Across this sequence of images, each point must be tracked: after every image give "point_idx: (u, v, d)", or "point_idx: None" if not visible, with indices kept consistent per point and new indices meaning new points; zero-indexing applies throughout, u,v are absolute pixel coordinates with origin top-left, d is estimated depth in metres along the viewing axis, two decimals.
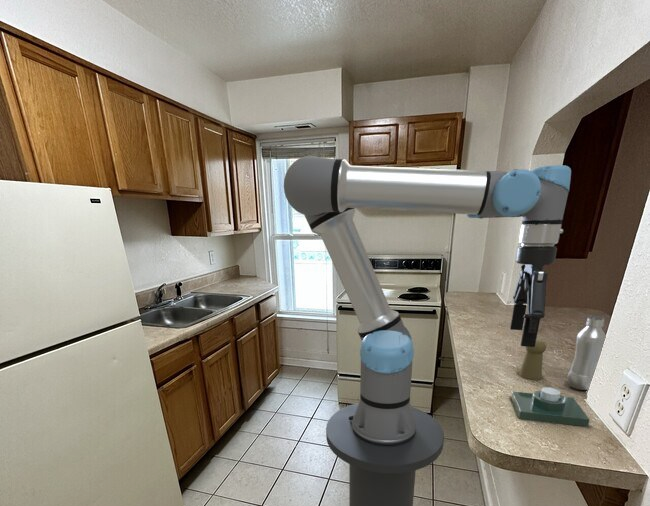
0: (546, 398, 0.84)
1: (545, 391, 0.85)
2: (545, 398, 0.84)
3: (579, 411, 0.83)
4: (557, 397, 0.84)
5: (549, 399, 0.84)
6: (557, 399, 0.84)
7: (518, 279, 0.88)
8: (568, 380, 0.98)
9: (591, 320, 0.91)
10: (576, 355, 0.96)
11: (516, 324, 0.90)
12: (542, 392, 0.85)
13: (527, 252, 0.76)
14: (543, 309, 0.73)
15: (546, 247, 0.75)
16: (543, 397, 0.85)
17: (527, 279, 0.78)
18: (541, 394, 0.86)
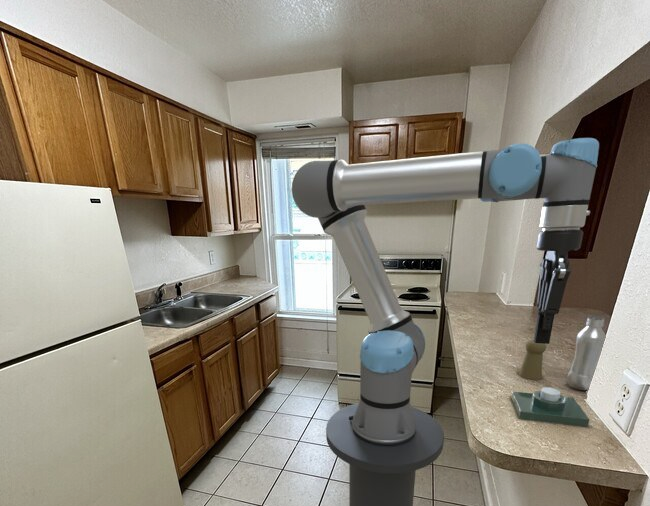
0: (546, 398, 0.84)
1: (545, 391, 0.85)
2: (545, 398, 0.84)
3: (579, 411, 0.83)
4: (557, 397, 0.84)
5: (549, 399, 0.84)
6: (557, 399, 0.84)
7: None
8: (568, 380, 0.98)
9: (591, 320, 0.91)
10: (576, 355, 0.96)
11: None
12: (542, 392, 0.85)
13: (550, 237, 0.69)
14: (558, 307, 0.71)
15: (571, 231, 0.67)
16: (543, 397, 0.85)
17: (548, 270, 0.71)
18: (541, 394, 0.86)
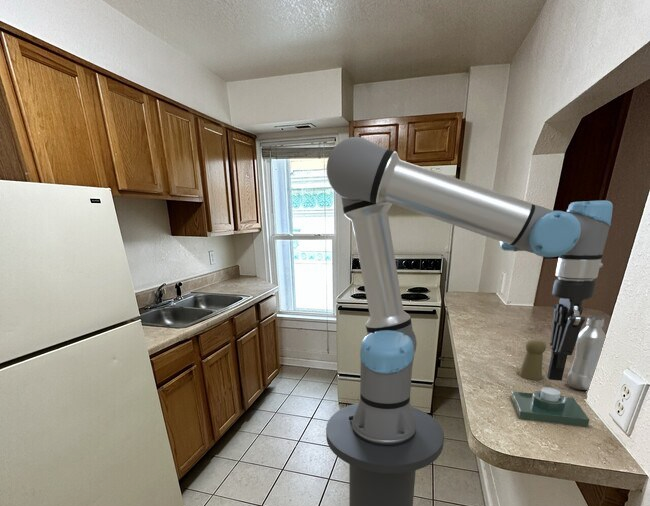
0: (546, 398, 0.84)
1: (545, 391, 0.85)
2: (545, 398, 0.84)
3: (579, 411, 0.83)
4: (557, 397, 0.84)
5: (549, 399, 0.84)
6: (557, 399, 0.84)
7: (553, 321, 0.84)
8: (568, 380, 0.98)
9: (591, 320, 0.91)
10: (576, 355, 0.96)
11: None
12: (542, 392, 0.85)
13: (565, 286, 0.74)
14: (572, 350, 0.77)
15: (586, 282, 0.73)
16: (543, 397, 0.85)
17: (563, 315, 0.77)
18: (541, 394, 0.86)
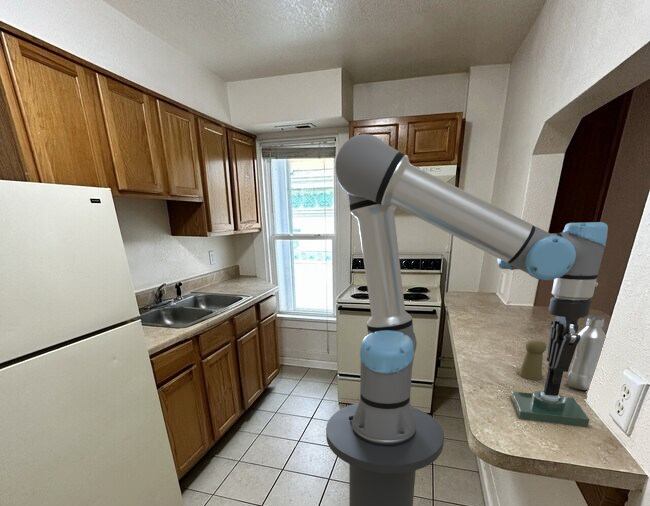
0: None
1: (544, 395, 0.85)
2: None
3: (579, 411, 0.83)
4: None
5: None
6: None
7: None
8: (568, 380, 0.98)
9: (591, 320, 0.91)
10: (576, 355, 0.96)
11: None
12: (541, 396, 0.85)
13: (561, 305, 0.76)
14: (568, 367, 0.79)
15: (581, 301, 0.74)
16: None
17: (559, 333, 0.79)
18: None
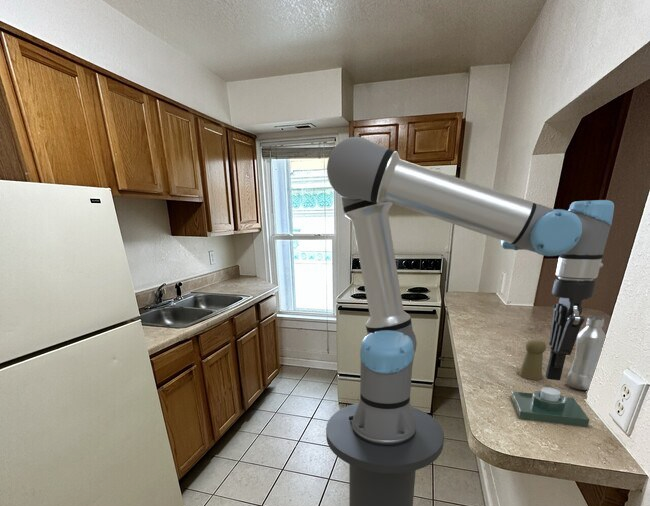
0: (546, 398, 0.84)
1: (545, 391, 0.85)
2: (545, 398, 0.84)
3: (579, 411, 0.83)
4: (557, 397, 0.84)
5: (549, 399, 0.84)
6: (557, 399, 0.84)
7: (552, 321, 0.84)
8: (568, 380, 0.98)
9: (591, 320, 0.91)
10: (576, 355, 0.96)
11: None
12: (542, 392, 0.85)
13: (565, 286, 0.74)
14: (571, 349, 0.77)
15: (586, 282, 0.73)
16: (543, 397, 0.85)
17: (562, 315, 0.77)
18: (541, 394, 0.86)
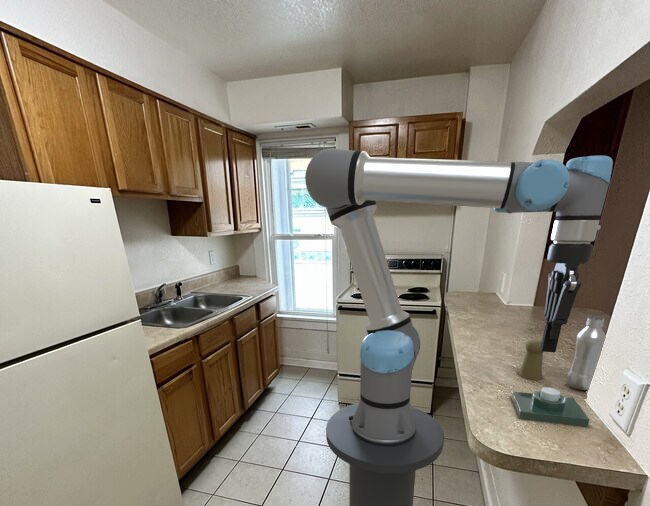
0: (546, 398, 0.84)
1: (545, 391, 0.85)
2: (545, 398, 0.84)
3: (579, 411, 0.83)
4: (557, 397, 0.84)
5: (549, 399, 0.84)
6: (557, 399, 0.84)
7: (547, 290, 0.80)
8: (568, 380, 0.98)
9: (591, 320, 0.91)
10: (576, 355, 0.96)
11: None
12: (542, 392, 0.85)
13: (561, 250, 0.71)
14: (567, 318, 0.73)
15: (582, 245, 0.69)
16: (543, 397, 0.85)
17: (558, 282, 0.73)
18: (541, 394, 0.86)
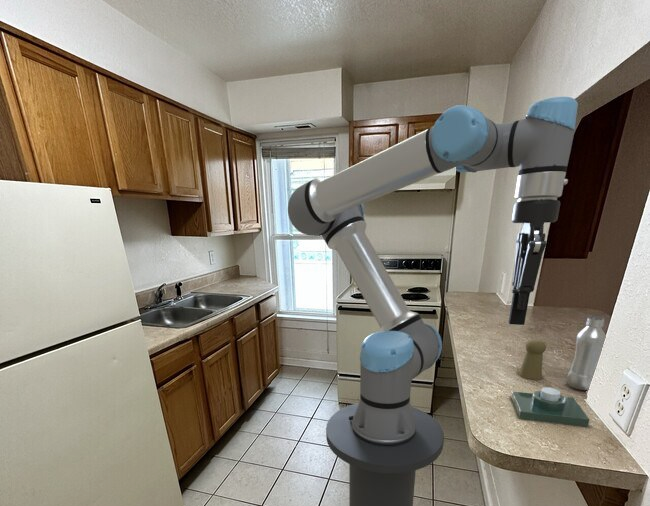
0: (546, 398, 0.84)
1: (545, 391, 0.85)
2: (545, 398, 0.84)
3: (579, 411, 0.83)
4: (557, 397, 0.84)
5: (549, 399, 0.84)
6: (557, 399, 0.84)
7: (515, 257, 0.73)
8: (568, 380, 0.98)
9: (591, 320, 0.91)
10: (576, 355, 0.96)
11: None
12: (542, 392, 0.85)
13: (525, 207, 0.64)
14: (533, 284, 0.66)
15: (547, 200, 0.62)
16: (543, 397, 0.85)
17: (523, 245, 0.66)
18: (541, 394, 0.86)
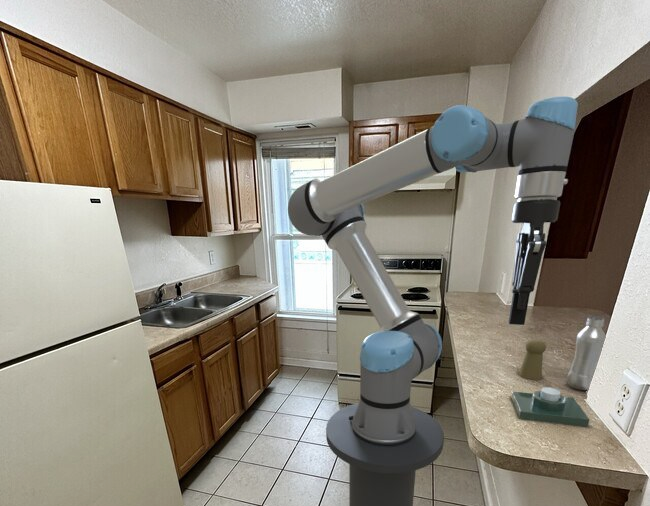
0: (546, 398, 0.84)
1: (545, 391, 0.85)
2: (545, 398, 0.84)
3: (579, 411, 0.83)
4: (557, 397, 0.84)
5: (549, 399, 0.84)
6: (557, 399, 0.84)
7: (515, 257, 0.73)
8: (568, 380, 0.98)
9: (591, 320, 0.91)
10: (576, 355, 0.96)
11: None
12: (542, 392, 0.85)
13: (525, 207, 0.64)
14: (533, 284, 0.66)
15: (547, 200, 0.62)
16: (543, 397, 0.85)
17: (523, 244, 0.66)
18: (541, 394, 0.86)
